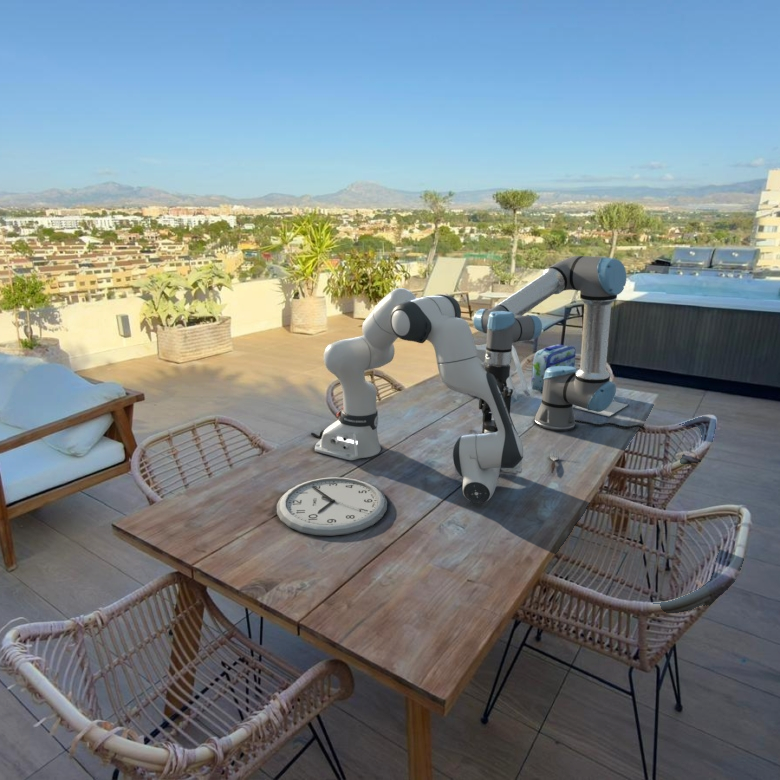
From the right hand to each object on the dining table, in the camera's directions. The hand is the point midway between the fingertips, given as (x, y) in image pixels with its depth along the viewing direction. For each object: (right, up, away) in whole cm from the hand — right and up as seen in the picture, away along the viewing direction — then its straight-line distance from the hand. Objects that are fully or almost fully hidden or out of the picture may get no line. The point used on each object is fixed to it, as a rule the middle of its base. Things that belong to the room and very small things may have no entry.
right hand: (491, 436), depth 163 cm
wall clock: (-47, -17, -20) cm, 54 cm away
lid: (0, +4, -1) cm, 4 cm away
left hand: (0, -5, +2) cm, 5 cm away
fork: (+21, -10, +7) cm, 25 cm away
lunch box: (+46, +15, +87) cm, 99 cm away
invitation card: (+60, +7, +63) cm, 88 cm away
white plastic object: (+10, +13, +80) cm, 82 cm away
